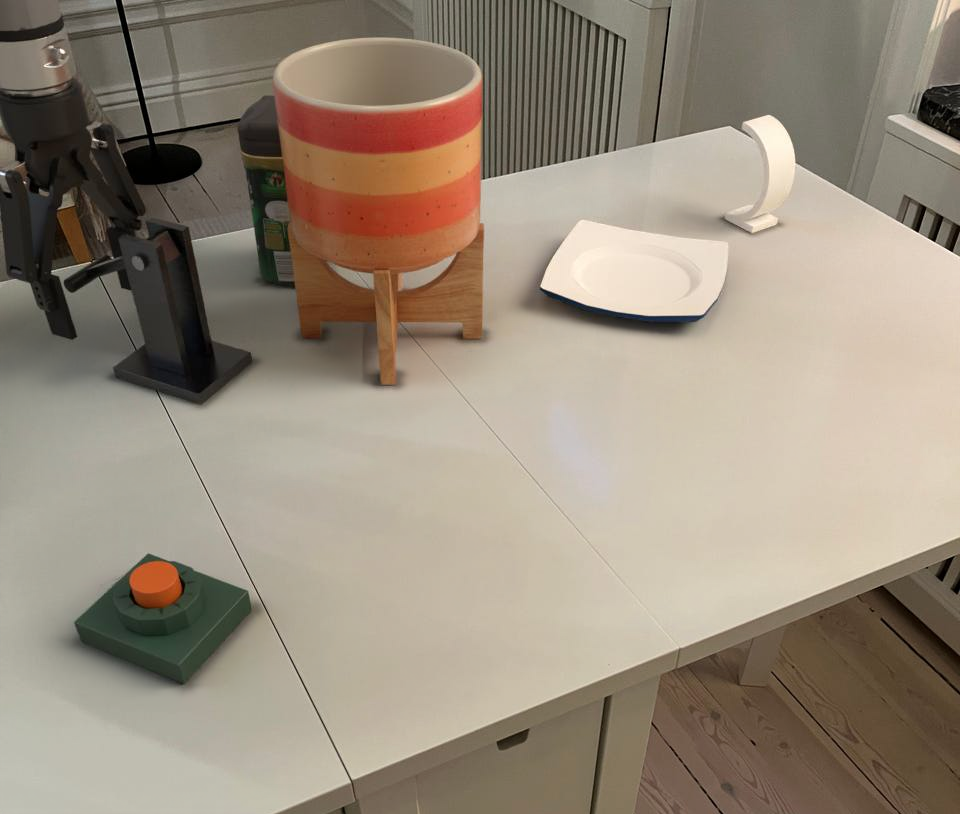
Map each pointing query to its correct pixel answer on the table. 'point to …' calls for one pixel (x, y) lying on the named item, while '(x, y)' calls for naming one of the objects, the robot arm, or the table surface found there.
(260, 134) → the coffee jar
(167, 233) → the lever
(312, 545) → the table surface
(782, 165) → the headphone stand
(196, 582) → the control block
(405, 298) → the planter
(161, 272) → the bracket
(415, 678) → the table surface
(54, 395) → the table surface
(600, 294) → the plate
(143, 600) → the button
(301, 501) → the table surface
